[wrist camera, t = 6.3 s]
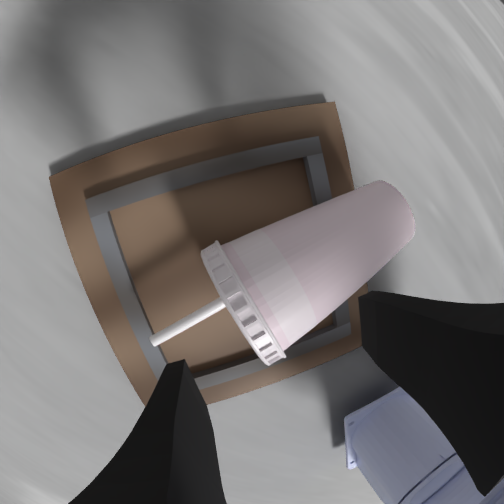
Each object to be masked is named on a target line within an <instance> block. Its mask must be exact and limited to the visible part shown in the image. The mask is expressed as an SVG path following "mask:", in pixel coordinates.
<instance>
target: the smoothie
mask: <svg viewBox="0 0 504 504" xmlns="http://www.w3.org/2000/svg"><path fill="white" fill-rule="evenodd" d="M414 234H415V220H414V216H413V213H412V211H411V208H410V206H409V204H408V203H407V201H406V199H405V198H404V197H403V195H402V194H401V193H400V192H399V191H398V190H397V189H396V188H395V187H394V186H392V185H391V184H389V183H387V182H385V181H375V182H373V183H370V184H368V185H365V186H363V187H360V188H358V189H355V190H353V191H350V192H348V193H345V194H343V195H340V196H338V197H335V198H333V199H331V200H328V201H326V202H323V203H321V204H318V205H316V206H313V207H311V208H309V209H306V210H304V211H301V212H299V213H296V214H294V215H292V216H289V217H287V218H284V219H282V220H280V221H277V222H275V223H273V224H270V225H268V226H265V227H263V228H261V229H258V230H255V231H253V232H251V233H249V234H246V235H244V236H242V237H240V238H237V239H235V240H233V241H231V242H228V243H225V244H223V245H220V243H219V242H218V241H217V240H216V241H215V243H213V244H212V245H210V246H208V247H207V248H205V249H203V250H201V258H202V260H203V263H204V265H205V267H206V270H207V272H208V274H209V276H210V278H211V280H212V282H213V284H214V286H215V288H216V289H217V292H218V294H219V296H220V297H219V298H217V299H216V300H214V301H212V302H210V303H209V304H207V305H205V306H203V307H202V308H200V309H198V310H196V311H195V312H193V313H191V314H189V315H188V316H186V317H184V318H182V319H180V320H179V321H177V322H175V323H173V324H172V325H170V326H168V327H166V328H165V329H163V330H161V331H159V332H157V333H156V334H154V335H152V336H150V337H149V338H150V341H151V343H152V345H153V346H157V345H159V344H161V343H163V342H164V341H166V340H168V339H170V338H172V337H174V336H175V335H177V334H179V333H181V332H183V331H184V330H186V329H188V328H190V327H191V326H193V325H195V324H197V323H199V322H200V321H202V320H204V319H206V318H207V317H209V316H211V315H213V314H214V313H216V312H218V311H220V310H221V309H223V308H225V307H226V308H227V309H228V311H229V312H230V314H231V316H232V317H233V319H234V321H235V322H236V324H237V325H238V327H239V329H240V330H241V332H242V333H243V335H244V336H245V338H246V339H247V341H248V343H249V344H250V345H251V347H252V348H253V350H254V351H255V353H256V354H257V355H258V357H259V358H260V359H261V360H262V361H263V362H264V364H266V365H268V366H269V365H271V364H273V363H274V362H276V361H278V360H280V359H281V358H286V355H285V353H284V350H286V349H287V348H288V347H289V346H290V345H292V344H293V343H294V342H296V341H297V340H298V339H300V338H301V337H302V336H304V335H305V334H306V333H307V332H309V331H310V330H311V329H313V328H314V327H315V326H316V325H317V324H318V323H320V322H321V321H322V320H323V319H324V318H326V317H327V316H328V315H329V314H330V313H332V312H333V311H334V310H335V309H336V308H338V307H339V306H340V305H341V304H342V303H343V302H345V301H346V300H347V299H348V298H349V297H350V296H351V295H353V294H354V293H355V292H356V291H357V290H358V289H359V288H360V287H362V286H363V285H364V284H365V283H366V282H367V281H368V280H369V279H370V278H371V277H373V276H374V275H375V274H376V273H377V272H378V271H379V270H380V269H381V268H382V267H383V266H384V265H385V264H386V263H388V262H389V261H390V260H391V259H392V258H393V257H394V256H395V255H396V254H397V253H398V252H399V251H400V250H401V249H402V248H403V247H404V246H405V245H406V244H407V243H408V242H409V241H410V240H411V239H412V238H413V236H414Z"/></svg>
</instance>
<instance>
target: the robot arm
mask: <svg viewBox="0 0 504 504" xmlns="http://www.w3.org/2000/svg"><path fill="white" fill-rule="evenodd" d="M358 303H359V314H360V326H361V340H362V346H363V348H364V349H365V350H366V352H367V353H368V354H369V356H370V357H371V358H372V359H373V360H374V362H375V363H376V364H377V365H378V366H379V367H380V368H381V369H382V370H383V371H384V372H385V373H386V374H387V375H388V376H389V377H390V378H391V379H392V380H393V381H395V382H396V383H397V384H398V385H399V386H400V387H398V388H396V389H395V390H393V391H391V392H390V393H388V394H386V395H384V396H383V397H381V398H379V399H377V400H375V401H373V402H372V403H370V404H368V405H366V406H364V407H362V408H360V409H358V410H356V411H354V412H352V413H350V414H348V415H347V416H346V417H345V418H344V428H345V445H346V467H347V468H348V469H352V468H354V467H356V466H358V468H359V469H360V471H361V472H362V474H363V475H364V477H365V478H366V479H367V481H368V482H369V484H370V485H371V487H372V488H373V489H374V491H375V492H376V494H377V495H378V496H379V498H380V499H381V500H382V501H383V503H385V504H504V303H495V304H469V303H455V302H446V301H438V300H431V299H424V298H418V297H412V296H406V295H401V294H395V293H388V292H381V291H371V292H369V293H366V294H364V295H362V296H359V297H358ZM68 504H227V503H226V500H225V497H224V492H223V488H222V483H221V477H220V471H219V464H218V458H217V451H216V445H215V438H214V432H213V427H212V423H211V420H210V416H209V412H208V409H207V405H206V403H205V401H204V399H203V397H202V394H201V392H200V390H199V388H198V386H197V384H196V382H195V380H194V378H193V376H192V373H191V371H190V369H189V367H188V365H187V362H186V360H185V359H183V360H179V361H176V362H172V363H168V364H166V366H165V368H164V370H163V372H162V374H161V376H160V378H159V380H158V382H157V384H156V387H155V389H154V391H153V393H152V395H151V397H150V399H149V401H148V403H147V405H146V407H145V409H144V411H143V412H142V414H141V416H140V418H139V419H138V421H137V423H136V425H135V426H134V428H133V430H132V431H131V433H130V435H129V436H128V438H127V439H126V441H125V442H124V444H123V445H122V446H121V448H120V449H119V450H118V452H117V453H116V454H115V456H114V457H113V458H112V460H111V461H110V462H109V463H108V464H107V465H106V467H105V468H104V469H103V470H102V471H101V472H100V473H99V474H98V476H97V477H96V478H95V479H94V480H93V481H92V482H91V483H90V484H89V485H88V486H87V487H86V488H85V489H84V490H83V491H82V492H81V493H80V494H79V495H78V496H77V497H75V498H74V499H73V500H72V501H71V502H69V503H68Z"/></svg>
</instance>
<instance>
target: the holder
mask: <svg viewBox="0 0 504 504" xmlns="http://www.w3.org/2000/svg"><path fill="white" fill-rule="evenodd" d="M49 180H50V184H51V188H52V192H53V196H54V200H55V203H56V207H57V211H58V214H59V217H60V221H61V224H62V227H63V230H64V234H65V237H66V240H67V243H68V246H69V249H70V252H71V254H72V257H73V260H74V263H75V265H76V268H77V271H78V273H79V276H80V278H81V281H82V283H83V286H84V288H85V291H86V293H87V296H88V298H89V300H90V303H91V305H92V307H93V310H94V312H95V314H96V316H97V318H98V321H99V323H100V325H101V327H102V329H103V331H104V333H105V335H106V337H107V339H108V341H109V343H110V345H111V347H112V349H113V351H114V353H115V355H116V357H117V359H118V361H119V362H120V364H121V366H122V368H123V370H124V372H125V373H126V375H127V377H128V379H129V380H130V382H131V384H132V386H133V387H134V389H135V391H136V392H137V394H138V396H139V397H140V399H141V400H142V402H143V404H144V405H145V407H146V405H147V403H148V401H149V399H150V397H151V395H152V393H153V391H154V389H155V387H156V384H157V382H158V380H159V378H160V376H161V374H162V372H163V370H164V368H165V366H166V364H168V363H172V362H176V361H179V360H183V359H185V360H186V362H187V365H188V367H189V369H190V371H191V373H192V376H193V378H194V380H195V382H196V384H197V386H198V388H199V390H200V392H201V394H202V397H203V399H204V401H205V403H206V405H208V404H211V403H215V402H218V401H221V400H225V399H228V398H231V397H234V396H237V395H241V394H244V393H247V392H250V391H253V390H256V389H258V388H261V387H264V386H267V385H270V384H273V383H275V382H278V381H281V380H283V379H286V378H289V377H291V376H294V375H296V374H299V373H301V372H304V371H306V370H309V369H311V368H314V367H316V366H318V365H321V364H323V363H325V362H328V361H330V360H332V359H335V358H337V357H339V356H341V355H343V354H346V353H348V352H350V351H352V350H354V349H356V348H358V347H361V346H362V340H361V326H360V314H359V303H358V297H359V296H362V295H364V294H366V293H368V286H367V282H366V283H365V284H364V285H363V286H362V287H360V288H359V289H358V290H357V291H356V292H355V293H354V294H353V295H351V296H350V297H349V298H348V299H347V300H346V301H345V302H343V303H342V304H341V305H340V306H339V307H338V308H336V309H335V310H334V311H333V312H332V313H330V314H329V315H328V316H327V317H326V318H324V319H323V320H322V321H321V322H320V323H318V324H317V325H316V326H315V327H314V328H313V329H311V330H310V331H309V332H307V333H306V334H305V335H304V336H302V337H301V338H300V339H298V340H297V341H296V342H294V343H293V344H292V345H290V346H289V347H288V348H287V349H286V350H284V353H285V355H286V358H281V359H280V360H278V361H276V362H274V363H273V364H271V365H269V366H268V365H266V364H264V362H263V361H262V360H261V359H260V358H259V357H258V355H257V354H256V353H255V351H254V350H253V348H252V347H251V345H250V344H249V343H248V341H247V339H246V338H245V336H244V335H243V333H242V332H241V330H240V329H239V327H238V325H237V324H236V322H235V321H234V319H233V317H232V316H231V314H230V312H229V311H228V309H227V308H226V307H225V308H223V309H221V310H220V311H218V312H216V313H214V314H213V315H211V316H209V317H207V318H206V319H204V320H202V321H200V322H199V323H197V324H195V325H193V326H191V327H190V328H188V329H186V330H184V331H183V332H181V333H179V334H177V335H175V336H174V337H172V338H170V339H168V340H166V341H164V342H163V343H161V344H159V345H157V346H153V345H152V343H151V341H150V338H149V337H150V336H152V335H154V334H156V333H157V332H159V331H161V330H163V329H165V328H166V327H168V326H170V325H172V324H173V323H175V322H177V321H179V320H180V319H182V318H184V317H186V316H188V315H189V314H191V313H193V312H195V311H196V310H198V309H200V308H202V307H203V306H205V305H207V304H209V303H210V302H212V301H214V300H216V299H217V298H219V297H220V296H219V294H218V292H217V289H216V288H215V286H214V284H213V282H212V280H211V278H210V276H209V274H208V272H207V270H206V267H205V265H204V263H203V260H202V258H201V250H203V249H205V248H207V247H208V246H210V245H212V244H213V243H215V241H216V240H217V241H218V242H219V243H220V245H223V244H225V243H228V242H231V241H233V240H235V239H237V238H240V237H242V236H244V235H246V234H249V233H251V232H253V231H255V230H258V229H261V228H263V227H265V226H268V225H270V224H273V223H275V222H277V221H280V220H282V219H284V218H287V217H289V216H292V215H294V214H296V213H299V212H301V211H304V210H306V209H309V208H311V207H313V206H316V205H318V204H321V203H323V202H326V201H328V200H331V199H333V198H335V197H338V196H340V195H343V194H345V193H348V192H350V191H353V190H354V185H353V180H352V174H351V169H350V164H349V160H348V155H347V150H346V146H345V141H344V137H343V133H342V128H341V124H340V120H339V116H338V112H337V109H336V105H335V102H327V103H318V104H309V105H302V106H294V107H287V108H281V109H275V110H269V111H263V112H257V113H252V114H247V115H242V116H237V117H232V118H227V119H223V120H218V121H214V122H210V123H205V124H201V125H197V126H193V127H190V128H186V129H182V130H178V131H175V132H171V133H168V134H164V135H161V136H157V137H154V138H151V139H148V140H144V141H141V142H138V143H135V144H132V145H129V146H126V147H123V148H120V149H117V150H115V151H112V152H109V153H106V154H104V155H101V156H98V157H96V158H93V159H90V160H88V161H85V162H83V163H80V164H78V165H75V166H73V167H71V168H68V169H66V170H64V171H61V172H59V173H57V174H54V175H52V176H50V177H49Z"/></svg>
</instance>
